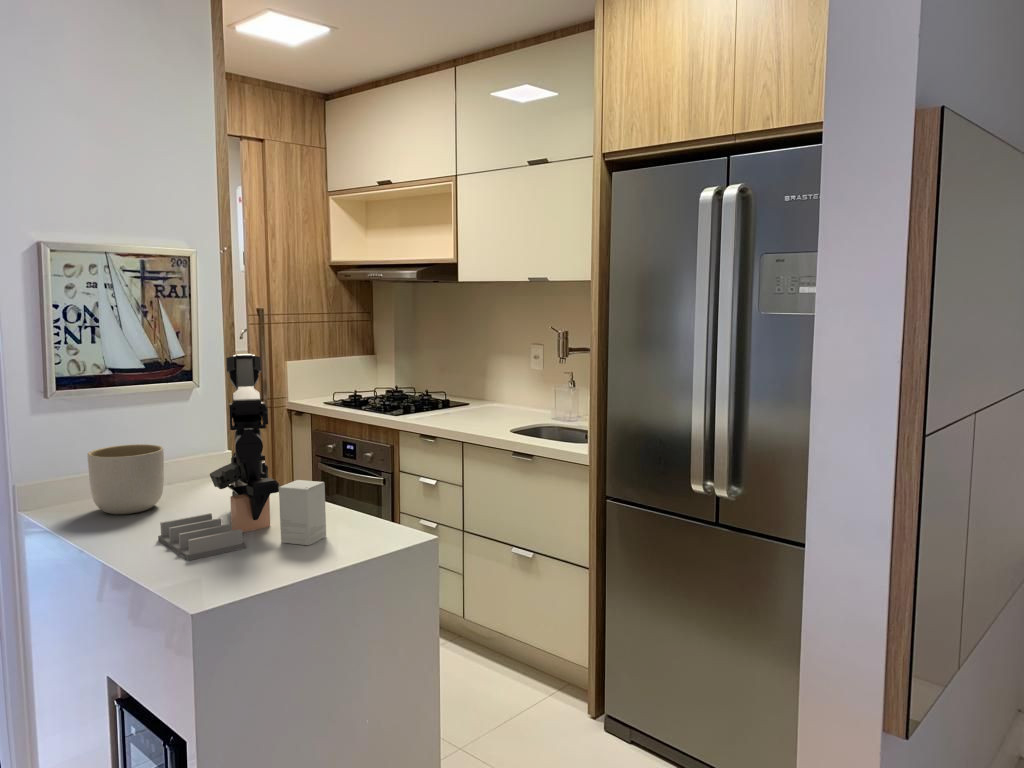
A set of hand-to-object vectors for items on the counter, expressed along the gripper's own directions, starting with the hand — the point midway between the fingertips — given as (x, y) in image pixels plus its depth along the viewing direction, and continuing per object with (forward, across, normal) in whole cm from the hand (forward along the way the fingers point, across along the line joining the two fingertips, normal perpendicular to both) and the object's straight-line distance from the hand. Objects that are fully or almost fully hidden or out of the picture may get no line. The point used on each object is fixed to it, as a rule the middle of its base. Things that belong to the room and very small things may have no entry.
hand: (250, 517), depth 177 cm
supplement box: (+3, +16, +5) cm, 17 cm away
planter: (+3, -36, -16) cm, 39 cm away
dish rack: (+2, +4, -13) cm, 14 cm away
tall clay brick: (+3, 0, 0) cm, 3 cm away
